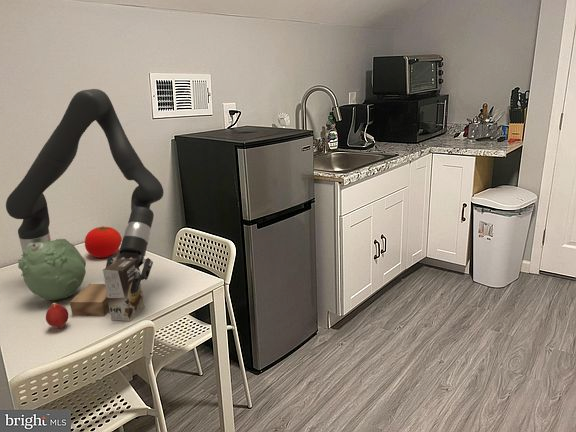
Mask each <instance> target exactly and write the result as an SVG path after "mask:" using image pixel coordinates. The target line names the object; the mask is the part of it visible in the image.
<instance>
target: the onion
mask: <svg viewBox="0 0 576 432" xmlns="http://www.w3.org/2000/svg"><path fill="white" fill-rule="evenodd" d="M68 319H69V311H68V309H67V308H66V307H65V306H64V305H62V304H57V302H53V303H51V306H50V307H49V308H48V309H47V311H46V313H45V321H46V323H47V324H48V325H49V326H51V327H54V328H57V329H61V328H62V327H63V326H64V325H65V324H66V323H67V322H68Z"/></svg>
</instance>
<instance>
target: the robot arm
mask: <svg viewBox="0 0 576 432" xmlns="http://www.w3.org/2000/svg"><path fill="white" fill-rule="evenodd" d="M94 122H96V123H97V124H98V125H99V126H100V128H101V129H102V131H103V133H104V135H105V138H106V140H107V142H108V145H109V149H110V150H109V151H110V153H111V155H112V158H113V161H114V162H115V164H116V165H117V167H118V169H119V170H120V172H121V173H122V175H123V177H124V178H125V179H126V180H127V181H134V182H136V183H137V185H138V186H136V187H135V188H134V189H133V192H132V193H131V194H132V195H131V199H130V202H131V203H130V215H129V218H128V222H127V225H126V226H125V227H126V228H125V230H124V233H123V237H122V241H121V245H120V247H119V254H118V255H117V257H111V256H108V257H107V260H106V264H105V268H106V267H107V266H109V265H110V264H112V263H113V262H114V261H116V260H117V259H119V258H121V259H125V258H130V259H133V258H136V259H138V261H137V266H139V270H137V268H136V267H135V270H134V271H135V274H134V278H135V279H133V282H132V286H131V292H132V293H136V291H138V289H139V285H140V282H141V283H142V281H144V280H146V281H147V280H148V278H149V276H150V273H151V270H152V267H153V265H154V262H153V260H152V259H151V258H150V257H147V258H145V256H146V252H147V248H148V245H149V241H150V237H151V230H152V229H151V228H152V225H153V222H154V216H155V215H154V211H152V209H150V208H151V206H152V204H153V203H156V202H158V201H160V200H161V199H162V198H163V196H164V187H163V185H162V183H161V182H160V181H159V179H158V178H157V177H156V176H155V175H154V174H153V173H152V172H151V171H150V170H149V169H148V168H147V167H146V166H145V165H144V163H143V162H142V159H141V158H140V157H139V155H138V153H137V151H135V149H134V147H133V145H132V144H131V142H130V140H129V138H128V137H127V135H126V133H125V130H124V128H123V126H122V124H121V122H120V119H119V118H118V115H117V113H116V110H115V108H114V105H113V103H112V101H111V99H110V97H109V96H108V94H107V93H106V92H105V91H103V90H101V89H99V88H91V89H82V90H80V91H78V92H76V93H75V94H74V95H73V97H72V98H71V100H70V102H69V104H68V106H67V108H66V110H65V112H64V114H63V116H62V118H61V120H60V122H59V123H58V125H57V126H56V127H55V129H54V130H53V132H52V133H51V135H50V136H49V138H47V140H46V142H45V144H44V145H43V146H42V148H41V150H40V151H39V152H38V155H37V156H36V158H35V159H34V161H33V163H32V164H31V166H30V167H29V169H28V170H27V173H25V176H24V177H23V178H22V180H21V181H20V183H19V184H17V186H15V188H14V189H13V190H12V192H11V193H10V194H9V195H8V197H7V199H6V202H5V209H6V211H7V214H8V215H9V216H10V217H11V218H13V219H16V220H22V223H21V224H20V226H19V227H18V229H17V234H18V238H19V239H18V240H19V244H20V247H21V252H22V253H23V251H24V250H26V247H27V245H29V244H30V243H36V242H45V241H48V240H50V241H52V238H51V234H50V230H49V228H50V217H49V216H50V215H49V209H48V202H47V199H46V196H45V195H44V192H45V191H46V190H47V189H49V188H50V186H52V185H53V184H54V183H55V182H56V181H57V180H58V179H60V177H62V176H63V174H65V172H66V171H67V170H68V169H69V167H70V165H72V162H73V161H74V160H75V158H76V157H77V156H76V155H77V152H78V149H79V145H80V140H81V138H82V136H83V135H84V133H85V132H86V130H87V129H88V128H89V127H90V126H91V124H93V123H94ZM142 265H143V268H142V269H140V267H142ZM141 270H142V271H141Z"/></svg>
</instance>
